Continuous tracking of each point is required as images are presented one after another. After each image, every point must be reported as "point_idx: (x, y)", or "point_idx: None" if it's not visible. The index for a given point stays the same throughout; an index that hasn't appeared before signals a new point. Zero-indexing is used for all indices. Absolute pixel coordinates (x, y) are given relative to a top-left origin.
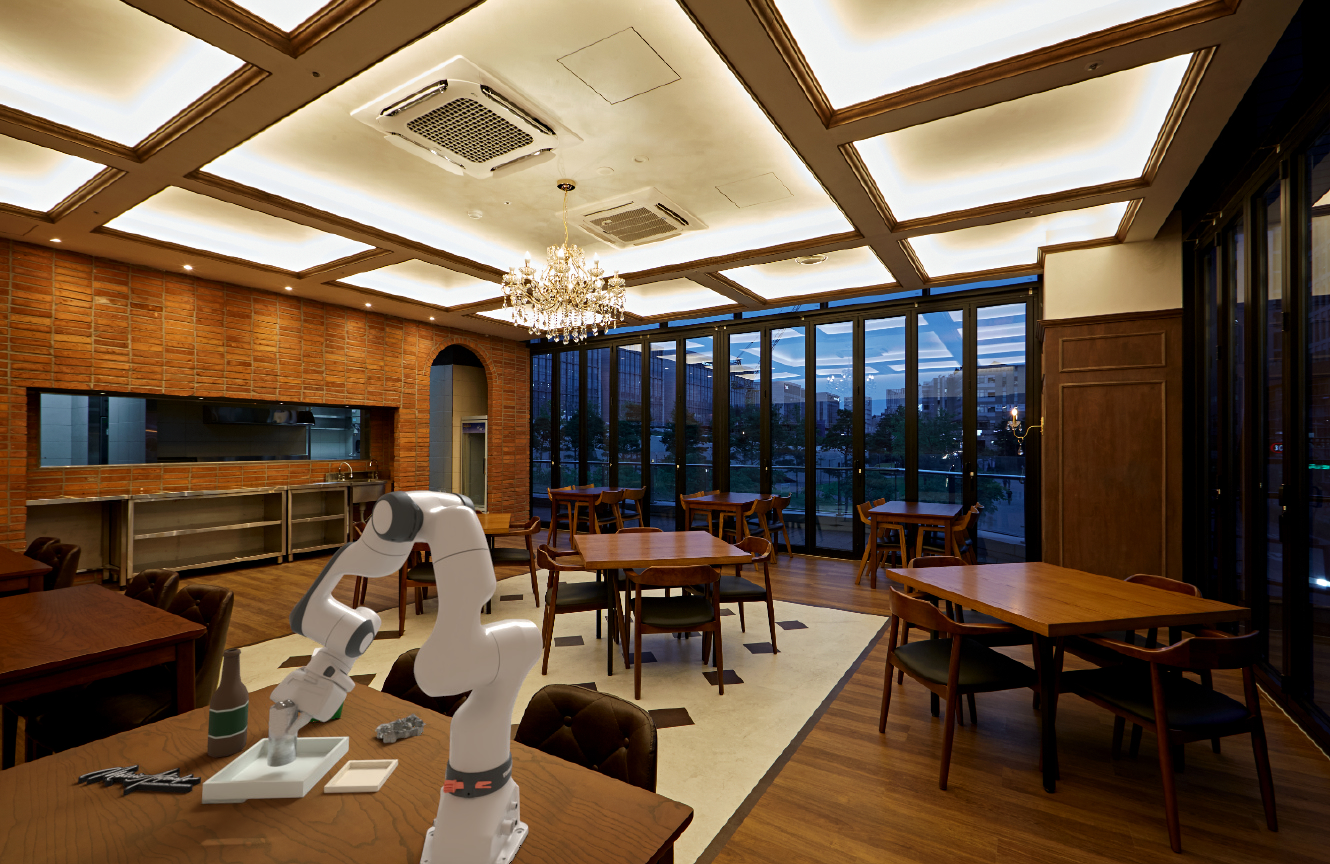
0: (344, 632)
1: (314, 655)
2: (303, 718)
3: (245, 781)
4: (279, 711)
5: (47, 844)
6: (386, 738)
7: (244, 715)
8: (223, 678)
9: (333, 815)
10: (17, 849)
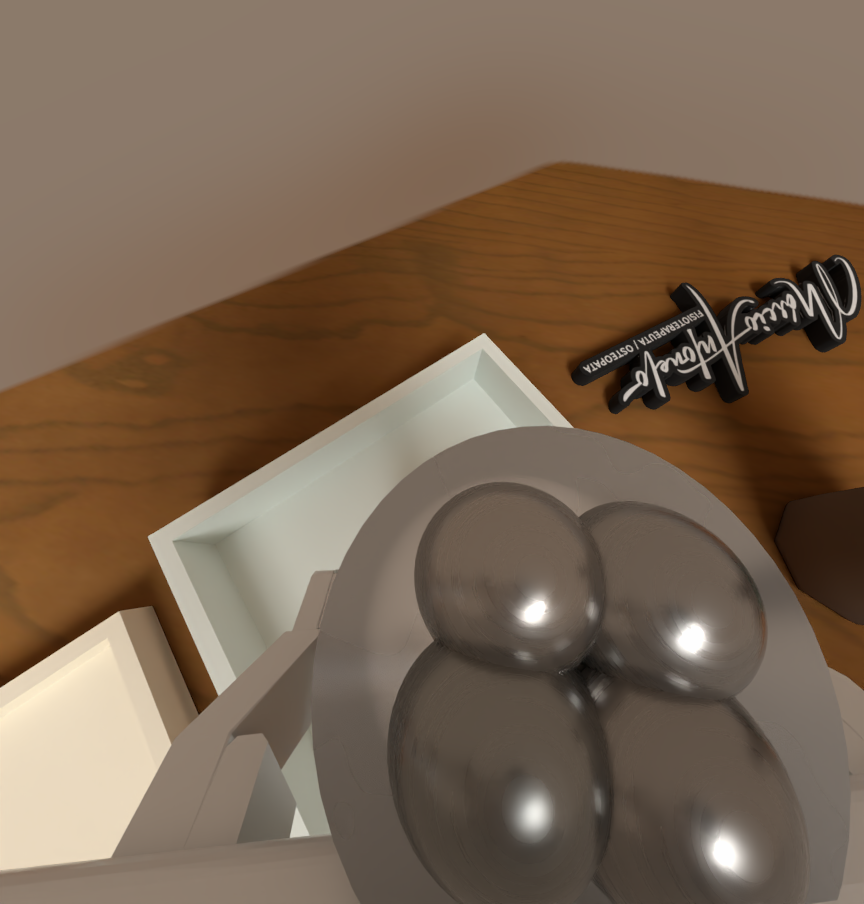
0: None
1: None
2: (177, 756)
3: (373, 409)
4: (398, 492)
5: (545, 186)
6: None
7: None
8: None
9: (9, 558)
10: (565, 164)
